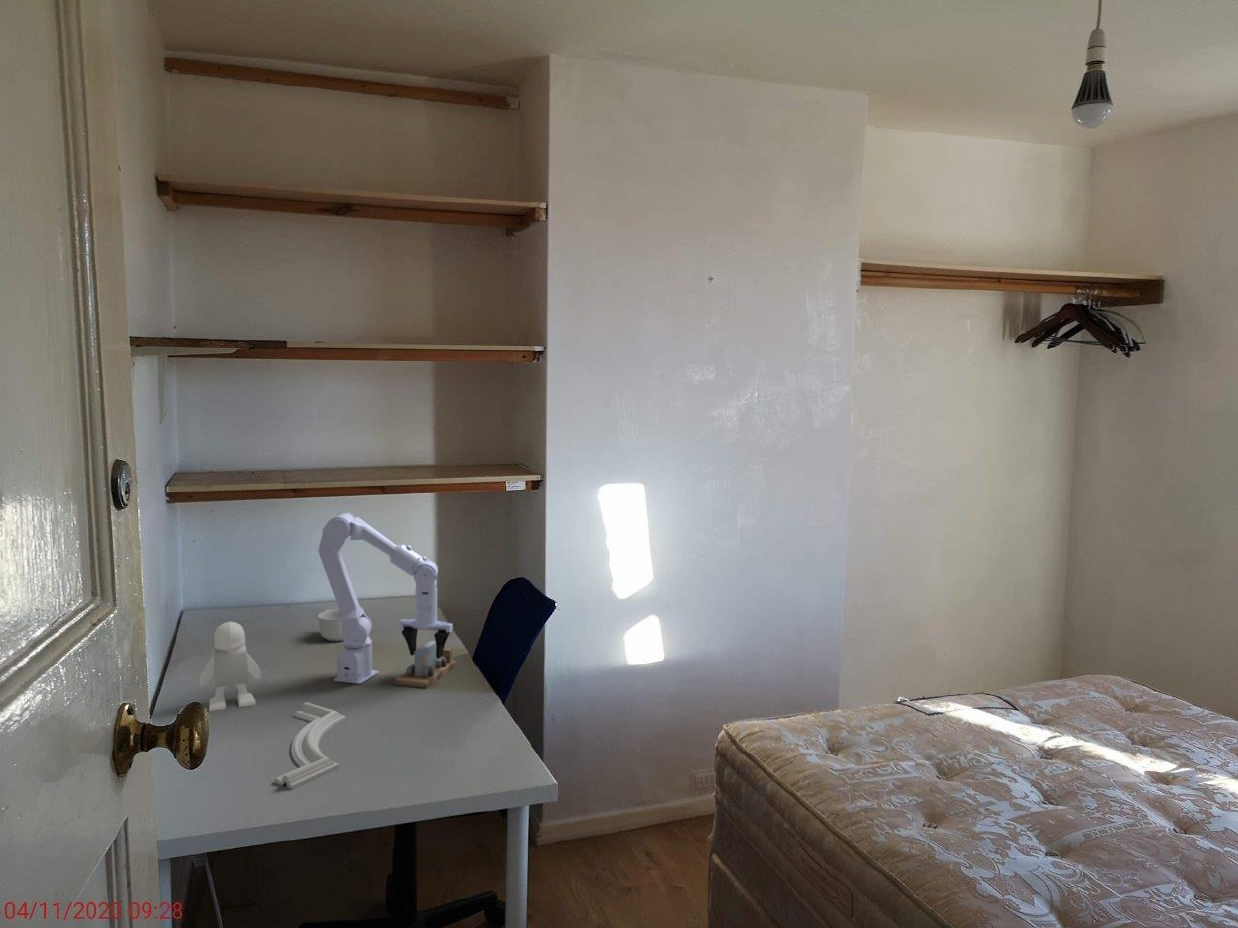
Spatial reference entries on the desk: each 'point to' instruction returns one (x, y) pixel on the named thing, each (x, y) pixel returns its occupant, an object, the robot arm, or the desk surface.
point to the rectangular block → (425, 657)
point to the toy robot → (230, 666)
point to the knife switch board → (428, 672)
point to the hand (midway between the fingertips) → (426, 655)
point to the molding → (310, 746)
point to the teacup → (331, 625)
